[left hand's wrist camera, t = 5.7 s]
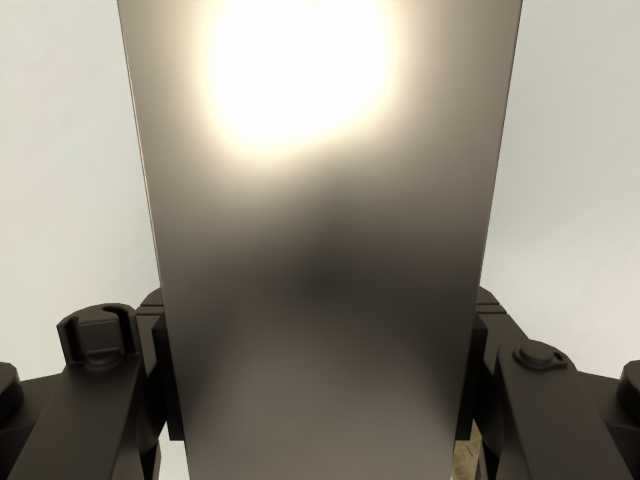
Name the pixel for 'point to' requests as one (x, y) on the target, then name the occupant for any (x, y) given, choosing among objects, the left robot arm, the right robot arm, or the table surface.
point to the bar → (319, 222)
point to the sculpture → (466, 456)
